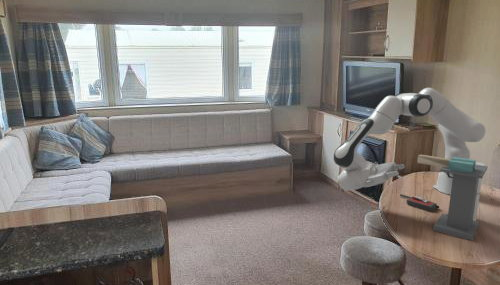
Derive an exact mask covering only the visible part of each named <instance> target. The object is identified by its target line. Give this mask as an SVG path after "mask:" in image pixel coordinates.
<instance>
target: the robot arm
mask: <svg viewBox="0 0 500 285" xmlns="http://www.w3.org/2000/svg"><path fill="white" fill-rule="evenodd" d="M401 115H403V116H407V117H416V118H417V117H419V118H420V117H424V116H426V115H428V116H429V117H430V118H431V119H433V120H434V121H435V122H436V123H437V124H438V129H439V131H440V133H441V135H442V138H443V141H444V148H445V150H444V151H445V153H444V158H447V159H452V158H453V157H458V158H465V159H471V157H470V156H471V151H470V149H469V148H468V146H467V145H466V143H478V142H481V141H482V140H483V139H484V137H485V134H486V127H485V126H484V124H482V123H480V122H479V121H477V120H476V119H474V118H472V117H471V116H470V115H468V114H467V113H465V112H464V111H462V110H460V109H459V108H457V107H456V106H455V105H454V104H453V103H452V102H451V101H450V100H449V99H447V97H445V95H443V94H442V93H440V91H438V90H436V89H434V88H433V87H425V88H423V89H421V90H420V91H419V92H418V93H415V92H414V93H413V92H407V93H405V92H400V93H397V94H395V95H387V96H385V97H384V98H383V99H382V100H381V101H380V102H379V103H378V104H377V106H376V107H375V109H374V110H373V112H372V113H371V115H370V116H369V117H367V118H365V119H363V120H362V121H361V122H360V123H359V124H358V125H357V126H356V127H355V128H354V130H353V131H352V132H351V133H350V135H349V136H348V137H347V138H346V139H345V141H344V142H342V144H340V145H339V146H338V147H337V148H336V149H335V150H334V153H333V161H334V163H335V164H336V165H337V166H340V167H341V168H342V170H341V173H340V174H339V175H337V178H336V179H337V181H336V182H337V184H338V185H339V187H340V188H341V189H342V190H343V191H354V190H359V189H362V188H369V187H373V186H378V185H381V184H384V183H386V182H387V181H388V180H389V179H391V178H394V177H396V176H398V175H400V173H399V170H403V169H405V164H404V163H401V164H396V162H394V161H391V162H385V163H381V164H378V163H375V164H372V165H370V166H367V160H366V158H364V157H363V156H362V154H360V153H359V152H357V151H356V150H357V148H358V146H360V144H361V143H362V142H363V141H364V139H365V138H366V137H368V136H369V135H377V136H378V135H381V136H382V135H385V134H387V133H388V132H389V131H391V129H392V128H393V126H394V125H395V123H396V122H397V120H398V118H399V116H401ZM452 180H453V174H452V173H446V172H439V173H438V177H437V181H436V184H433V186H432V188H434V189H436V190H438V191H439V192H441V193H443V194H447V195H451V188H452Z"/></svg>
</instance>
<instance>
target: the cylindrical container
mask: <svg viewBox="0 0 500 285" xmlns="http://www.w3.org/2000/svg"><path fill="white" fill-rule="evenodd" d="M475 165H481V166H485V164H484V163H483V162H479V161H476V163H475ZM482 182H483V178H482V179H481V178H479V181H478V188H477V194H476V201H475V208H474V215H473V221H477V215H478V208H479V202H480V196H481V188H482V184H483V183H482Z"/></svg>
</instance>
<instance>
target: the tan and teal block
mask: <svg viewBox="0 0 500 285" xmlns="http://www.w3.org/2000/svg"><path fill="white" fill-rule="evenodd" d="M476 162H477V160H476V159H471V158H469V159H465V158H458V157H453V158H452V159H447V158H445V157H440V156H432V155H427V154H419V155H417V162H416V163H417V164H422V165H428V166H435V167H439V168H442V167H445V168H448V170H453V171H459V172H465V173H471V174H472V172H473V171H474V169H475V163H476Z"/></svg>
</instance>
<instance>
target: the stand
mask: <svg viewBox="0 0 500 285" xmlns="http://www.w3.org/2000/svg"><path fill="white" fill-rule="evenodd" d="M487 170H488V166H487V165H484V166H481V165H475V169H474V171H473V172H472V174H471V173H465V172H459V171H453V170H448V168H445V167H440V172H439V173H441V172H446V173H452V174H453V180H452V188H451V195H450V194H449V195H450V196H449V204H448V212H447V214H446V213H444V212H443V213H441V215H440V216H439V217H438V218H437V220H436V221H435V223H434V224H433V231H434V232H438V233H440V234H441V233H442V234H446V235H450V236H453V237H456V238H457V237H458V238H461V239H465V240H468V241H473V240H474V237H475V236H476V234H477V231H478V228H479V225H480V222H479V221H478V220H476V221H473V215H474V208H475V201H476V194H477V188H478V181H479V178H481V179H482V180H483V177H484V175H485V174H486V172H487Z"/></svg>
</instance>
